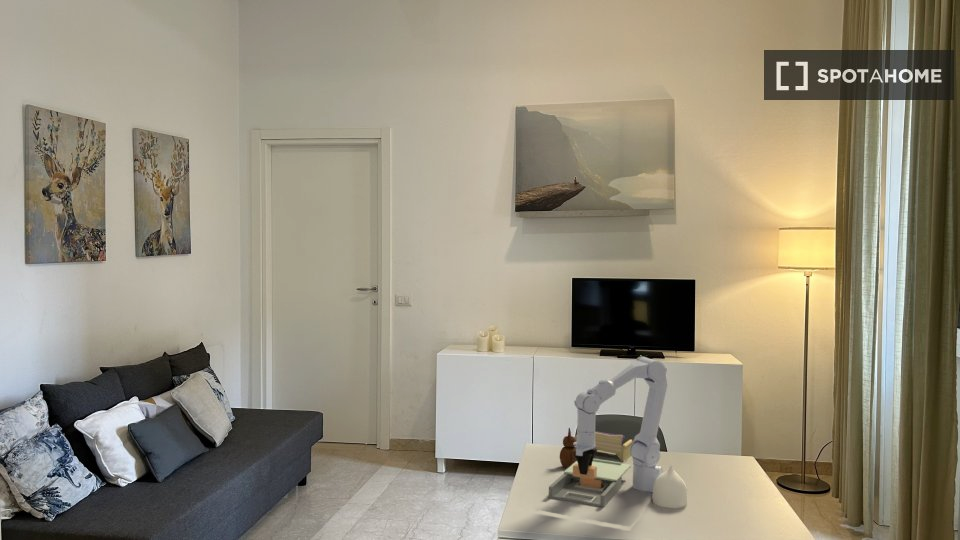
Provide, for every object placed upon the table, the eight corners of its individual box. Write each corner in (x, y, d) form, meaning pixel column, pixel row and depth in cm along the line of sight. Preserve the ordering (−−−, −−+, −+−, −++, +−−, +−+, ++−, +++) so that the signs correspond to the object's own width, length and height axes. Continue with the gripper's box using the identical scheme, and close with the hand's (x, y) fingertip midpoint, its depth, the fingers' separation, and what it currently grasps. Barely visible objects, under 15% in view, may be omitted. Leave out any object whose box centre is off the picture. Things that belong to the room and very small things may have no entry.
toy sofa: (632, 457, 293) (633, 430, 293) (624, 462, 286) (625, 435, 285) (582, 448, 304) (582, 422, 304) (573, 453, 297) (573, 427, 296)
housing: (621, 490, 254) (621, 476, 253) (603, 510, 234) (604, 495, 234) (569, 481, 261) (569, 468, 261) (548, 500, 242) (548, 486, 242)
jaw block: (596, 476, 246) (596, 466, 246) (593, 479, 243) (594, 469, 243) (575, 473, 249) (576, 463, 249) (572, 475, 246) (572, 466, 246)
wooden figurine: (570, 470, 273) (572, 429, 273) (556, 467, 277) (558, 426, 276) (580, 466, 279) (581, 426, 278) (566, 463, 282) (567, 423, 282)
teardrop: (662, 509, 237) (664, 471, 237) (645, 497, 248) (647, 460, 247) (694, 506, 240) (695, 469, 239) (676, 495, 251) (677, 459, 250)
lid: (630, 466, 265) (630, 463, 265) (616, 481, 248) (617, 478, 248) (580, 459, 272) (580, 455, 272) (564, 473, 255) (564, 469, 255)
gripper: (580, 424, 253) (579, 464, 254) (567, 434, 240) (566, 476, 241) (601, 426, 250) (600, 467, 251) (588, 437, 237) (587, 480, 238)
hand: (585, 472), depth 246 cm, fingers closed on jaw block, 3 cm apart
